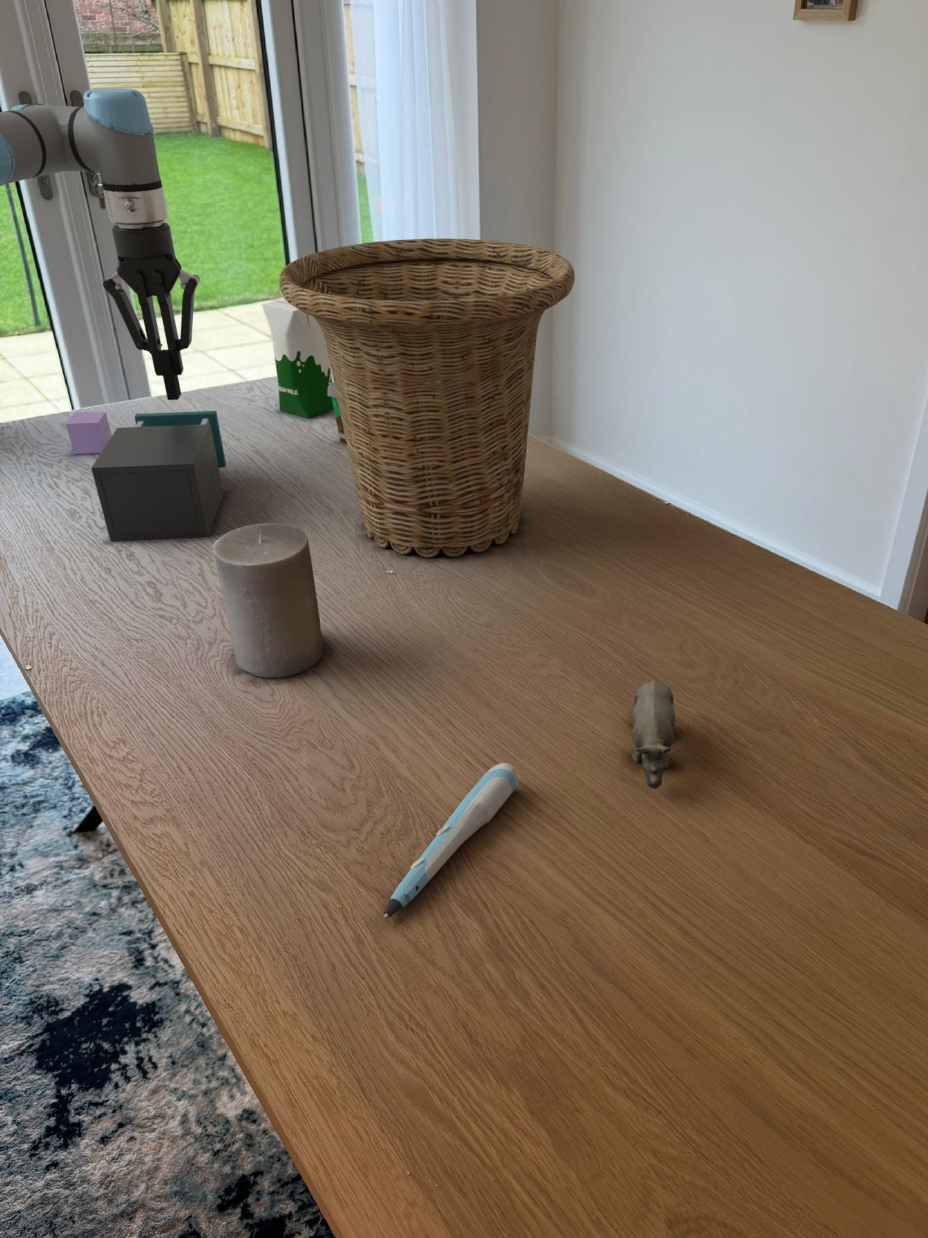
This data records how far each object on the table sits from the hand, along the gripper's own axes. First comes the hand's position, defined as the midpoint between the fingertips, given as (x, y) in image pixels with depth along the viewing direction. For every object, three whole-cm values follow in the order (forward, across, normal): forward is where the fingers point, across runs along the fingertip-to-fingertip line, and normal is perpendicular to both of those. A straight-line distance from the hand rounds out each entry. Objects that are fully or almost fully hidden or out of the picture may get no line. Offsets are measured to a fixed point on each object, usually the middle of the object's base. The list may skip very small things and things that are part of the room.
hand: (174, 396), depth 151 cm
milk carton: (+11, +16, +25) cm, 32 cm away
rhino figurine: (+11, +56, -80) cm, 98 cm away
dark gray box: (+11, 0, -18) cm, 21 cm away
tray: (+10, 0, -6) cm, 12 cm away
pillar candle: (+11, +19, -57) cm, 61 cm away
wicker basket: (+11, +38, -25) cm, 47 cm away
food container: (+11, +28, +9) cm, 32 cm away
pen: (+11, +37, -90) cm, 98 cm away
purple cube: (+11, -17, +10) cm, 23 cm away
